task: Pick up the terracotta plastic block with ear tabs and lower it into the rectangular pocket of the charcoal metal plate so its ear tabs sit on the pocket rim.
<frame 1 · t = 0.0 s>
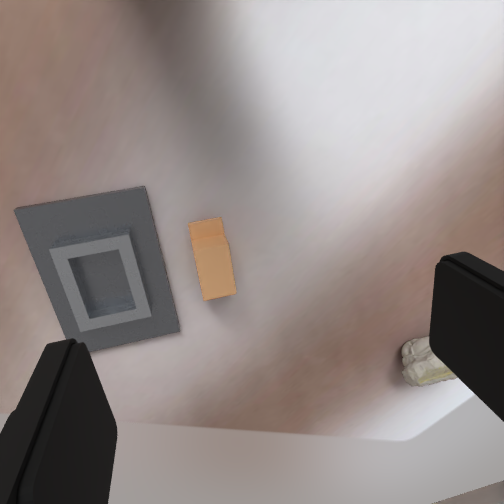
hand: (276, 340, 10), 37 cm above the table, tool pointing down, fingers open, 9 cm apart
tabbed block: (210, 252, 48), on the table
fossil replica: (421, 343, 63), on the table
pocket plate: (107, 273, 46), on the table
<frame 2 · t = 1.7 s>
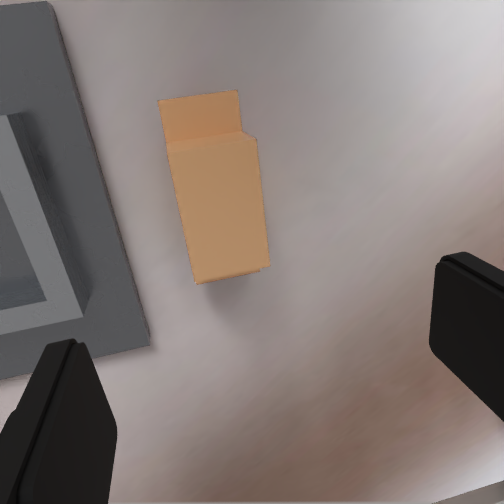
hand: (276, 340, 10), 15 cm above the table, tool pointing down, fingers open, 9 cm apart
tabbed block: (209, 185, 23), on the table
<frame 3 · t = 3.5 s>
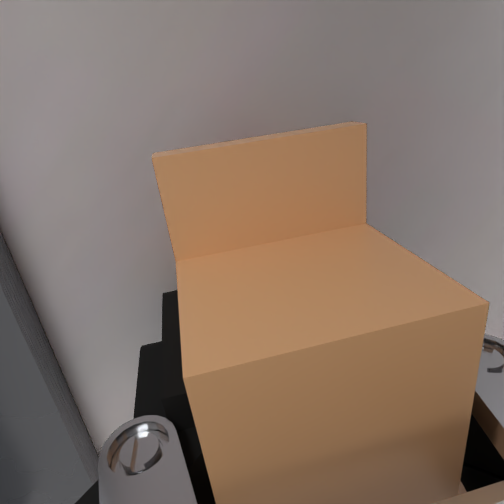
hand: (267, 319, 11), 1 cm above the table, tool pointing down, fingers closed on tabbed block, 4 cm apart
tabbed block: (261, 307, 11), on the table, touching gripper
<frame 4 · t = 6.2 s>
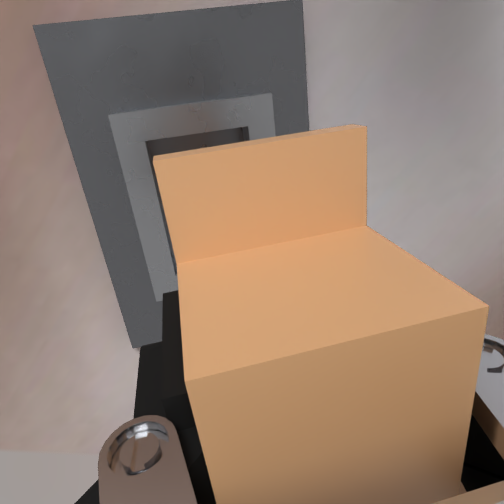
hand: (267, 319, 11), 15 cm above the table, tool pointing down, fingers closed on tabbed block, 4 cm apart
tabbed block: (262, 309, 11), point 15 cm above the table, touching gripper
pocket plate: (204, 193, 24), on the table
when the fingers open (3 cm above the table, at t = 8.7 s): tabbed block drops 1 cm, resting on pocket plate.
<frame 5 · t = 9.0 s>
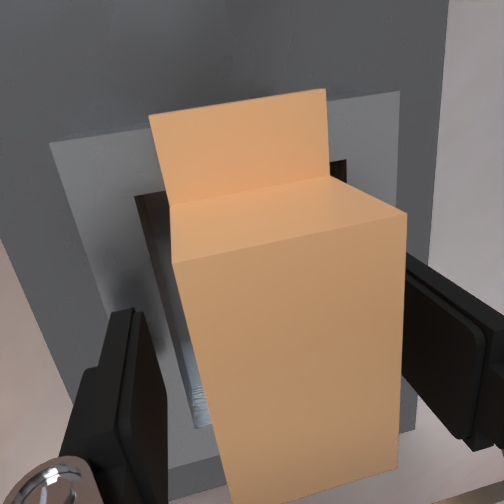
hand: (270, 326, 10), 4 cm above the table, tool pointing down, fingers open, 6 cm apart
tabbed block: (248, 263, 13), point 1 cm above the table, touching pocket plate
pocket plate: (243, 267, 14), on the table
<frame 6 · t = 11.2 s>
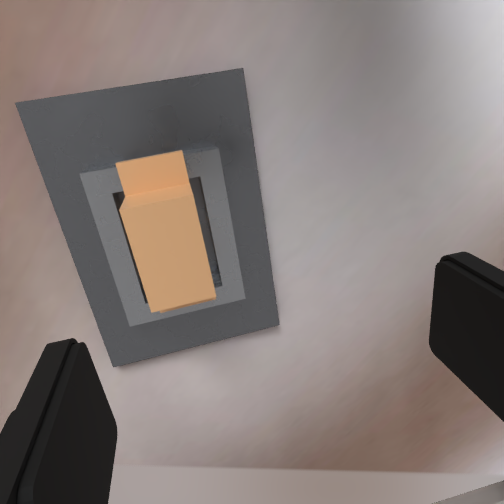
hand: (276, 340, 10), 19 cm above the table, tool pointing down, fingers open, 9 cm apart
tabbed block: (170, 225, 27), point 1 cm above the table, touching pocket plate
pocket plate: (170, 229, 28), on the table
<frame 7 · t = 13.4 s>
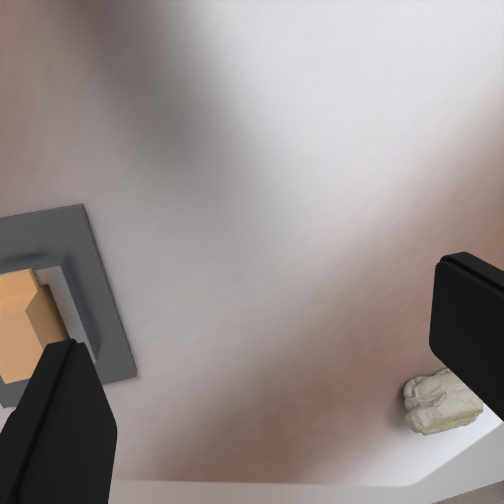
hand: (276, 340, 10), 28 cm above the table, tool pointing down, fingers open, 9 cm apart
tabbed block: (37, 310, 37), point 1 cm above the table, touching pocket plate
fossil replica: (426, 380, 54), on the table
pocket plate: (41, 310, 38), on the table
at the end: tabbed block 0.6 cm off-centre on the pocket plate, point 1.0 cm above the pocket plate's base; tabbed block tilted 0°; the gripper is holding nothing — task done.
